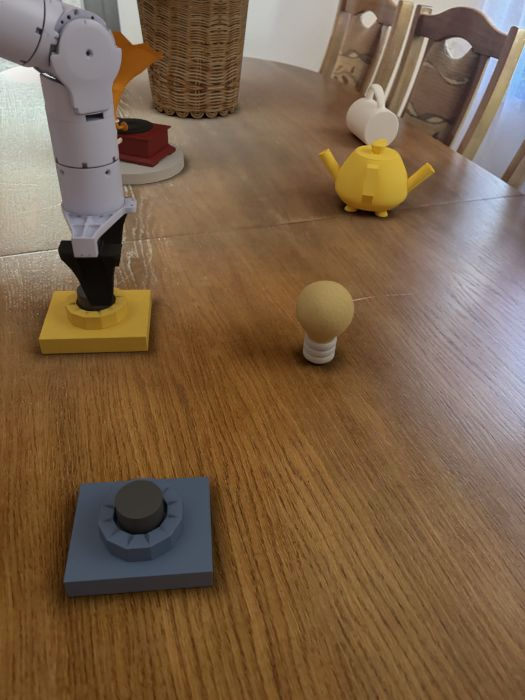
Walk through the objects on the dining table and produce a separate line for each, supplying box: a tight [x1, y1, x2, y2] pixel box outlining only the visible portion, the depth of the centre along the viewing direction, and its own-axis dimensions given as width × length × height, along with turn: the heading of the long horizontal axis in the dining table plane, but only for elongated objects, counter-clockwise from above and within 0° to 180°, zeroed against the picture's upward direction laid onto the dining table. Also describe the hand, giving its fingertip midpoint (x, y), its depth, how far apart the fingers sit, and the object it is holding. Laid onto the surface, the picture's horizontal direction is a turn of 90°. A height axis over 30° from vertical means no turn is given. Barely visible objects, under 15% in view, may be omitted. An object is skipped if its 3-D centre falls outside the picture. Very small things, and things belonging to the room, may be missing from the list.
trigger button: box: [75, 284, 114, 311], centre depth 66 cm, size 4×4×2 cm
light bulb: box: [295, 280, 355, 365], centre depth 63 cm, size 6×6×10 cm
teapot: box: [318, 139, 436, 218], centre depth 97 cm, size 20×18×11 cm
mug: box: [345, 83, 400, 147], centre depth 124 cm, size 8×10×12 cm
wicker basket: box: [136, 0, 250, 120], centre depth 133 cm, size 35×35×33 cm
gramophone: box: [111, 30, 185, 186], centre depth 103 cm, size 20×20×25 cm
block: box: [62, 476, 214, 598], centre depth 45 cm, size 11×9×4 cm
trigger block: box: [37, 286, 153, 355], centre depth 68 cm, size 12×10×4 cm
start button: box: [115, 480, 164, 534], centre depth 44 cm, size 4×4×2 cm
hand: (106, 283), depth 60 cm, fingers open, 7 cm apart
